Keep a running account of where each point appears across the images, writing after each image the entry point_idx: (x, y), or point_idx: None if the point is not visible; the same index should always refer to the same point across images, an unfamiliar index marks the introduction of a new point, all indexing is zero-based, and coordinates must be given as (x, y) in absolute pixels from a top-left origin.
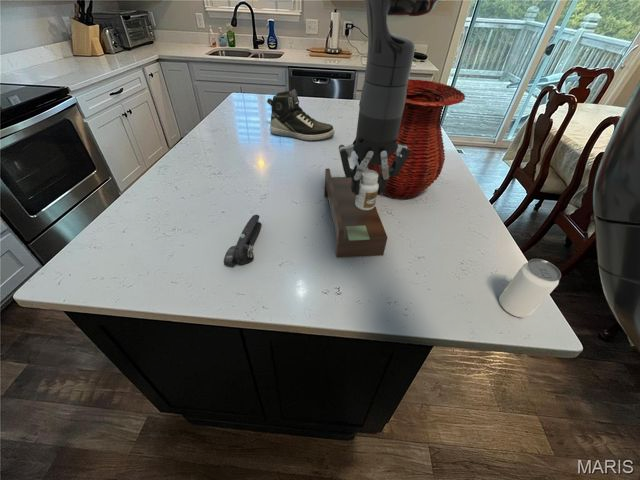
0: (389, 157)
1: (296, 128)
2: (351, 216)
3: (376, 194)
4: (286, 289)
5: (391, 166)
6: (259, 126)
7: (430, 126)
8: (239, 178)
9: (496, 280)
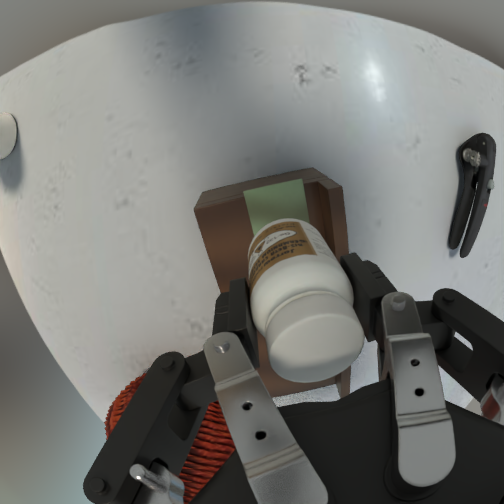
0: (211, 441)
1: None
2: None
3: (255, 270)
4: (399, 80)
5: (198, 411)
6: None
7: None
8: None
9: (16, 181)
